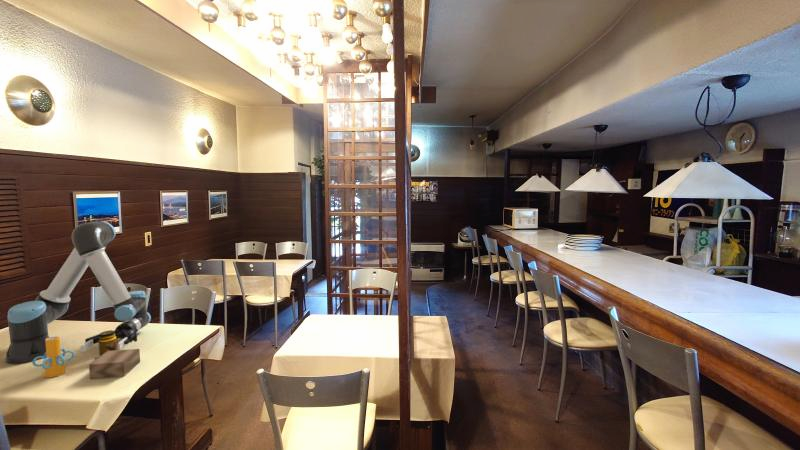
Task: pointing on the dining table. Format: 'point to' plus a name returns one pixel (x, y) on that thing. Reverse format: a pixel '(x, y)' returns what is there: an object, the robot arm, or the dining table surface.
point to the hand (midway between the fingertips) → (100, 347)
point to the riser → (114, 363)
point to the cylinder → (53, 358)
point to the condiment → (107, 342)
